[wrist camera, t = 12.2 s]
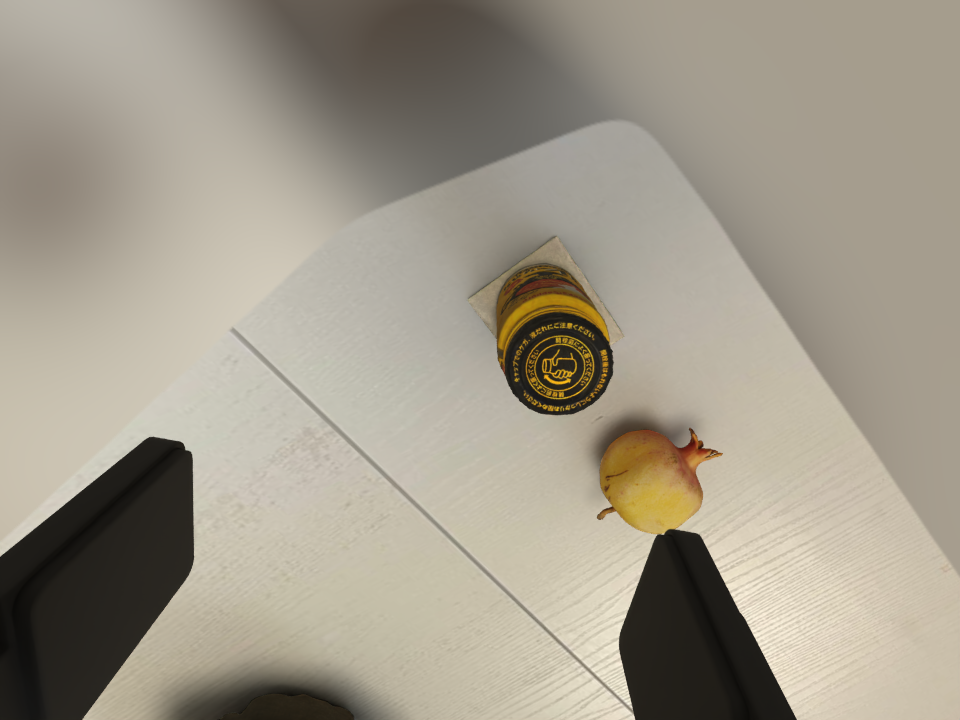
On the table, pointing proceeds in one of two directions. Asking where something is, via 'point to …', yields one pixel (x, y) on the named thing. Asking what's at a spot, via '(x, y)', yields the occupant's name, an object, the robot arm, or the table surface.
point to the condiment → (550, 332)
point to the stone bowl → (289, 709)
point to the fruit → (652, 480)
